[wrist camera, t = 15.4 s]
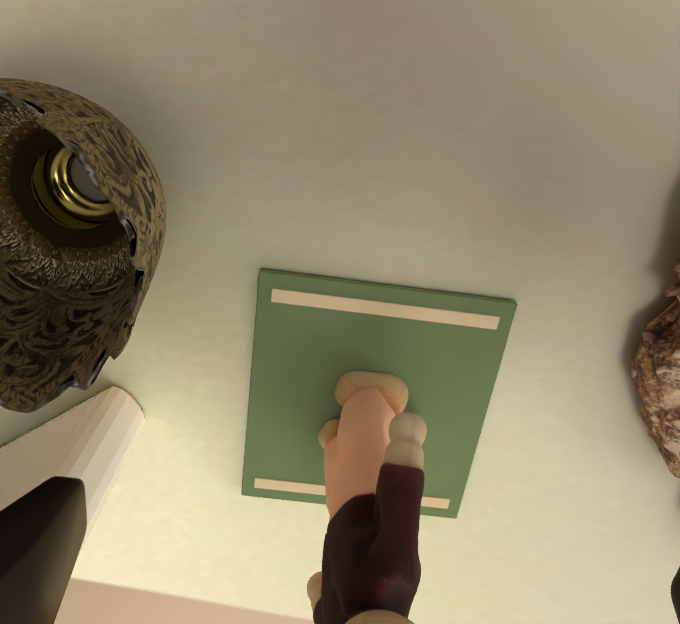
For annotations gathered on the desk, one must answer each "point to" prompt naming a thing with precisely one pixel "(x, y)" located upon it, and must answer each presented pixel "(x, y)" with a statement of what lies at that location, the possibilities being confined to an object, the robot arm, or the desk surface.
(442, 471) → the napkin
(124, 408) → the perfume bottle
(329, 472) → the grandmother figurine
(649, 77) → the desk surface
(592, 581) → the desk surface
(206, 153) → the desk surface
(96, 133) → the cup
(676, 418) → the stone
